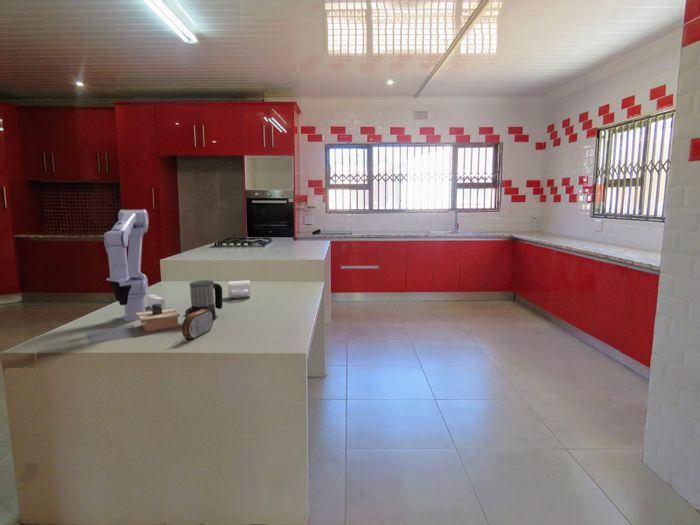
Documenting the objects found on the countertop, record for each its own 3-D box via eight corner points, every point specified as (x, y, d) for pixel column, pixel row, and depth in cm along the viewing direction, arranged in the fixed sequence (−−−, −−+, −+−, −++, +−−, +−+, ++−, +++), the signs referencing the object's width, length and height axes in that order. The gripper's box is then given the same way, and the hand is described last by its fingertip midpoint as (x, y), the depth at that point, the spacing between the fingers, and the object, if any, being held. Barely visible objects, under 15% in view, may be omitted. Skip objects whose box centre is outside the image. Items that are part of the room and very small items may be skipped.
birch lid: (135, 314, 153) (134, 304, 153) (171, 309, 161) (170, 299, 160) (142, 322, 143) (141, 311, 143) (180, 316, 151) (179, 305, 150)
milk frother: (208, 323, 157) (205, 285, 155) (171, 321, 160) (168, 283, 158) (226, 313, 171) (224, 278, 169) (192, 311, 174) (189, 277, 172)
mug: (228, 296, 202) (227, 280, 201) (249, 294, 205) (248, 278, 204) (229, 302, 190) (228, 285, 189) (251, 300, 193) (250, 283, 192)
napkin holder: (168, 311, 176) (167, 298, 175) (139, 313, 173) (138, 300, 172) (173, 303, 191) (172, 291, 190) (146, 305, 187) (145, 292, 187)
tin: (207, 328, 151) (206, 305, 150) (215, 328, 151) (214, 306, 149) (181, 342, 137) (180, 317, 136) (190, 342, 136) (188, 317, 135)
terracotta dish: (141, 326, 154) (140, 314, 153) (171, 321, 160) (170, 310, 159) (147, 333, 146) (146, 321, 145) (178, 328, 152) (177, 316, 151)
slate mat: (86, 334, 146) (85, 332, 146) (133, 326, 154) (133, 324, 154) (90, 345, 134) (89, 344, 134) (141, 336, 143) (141, 335, 142)
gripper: (102, 263, 150) (106, 300, 152) (108, 268, 138) (111, 308, 140) (124, 261, 154) (128, 297, 156) (131, 266, 142) (135, 305, 144)
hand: (121, 302), depth 148 cm, fingers open, 7 cm apart
